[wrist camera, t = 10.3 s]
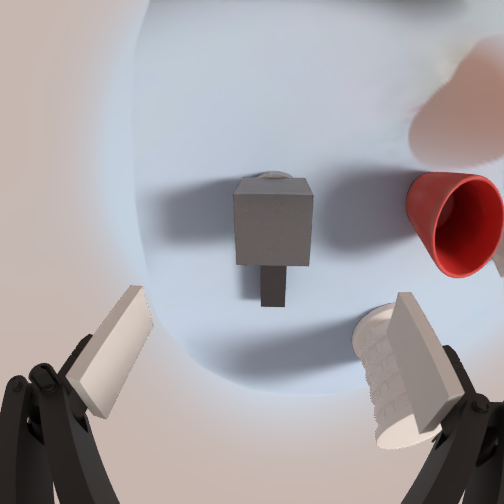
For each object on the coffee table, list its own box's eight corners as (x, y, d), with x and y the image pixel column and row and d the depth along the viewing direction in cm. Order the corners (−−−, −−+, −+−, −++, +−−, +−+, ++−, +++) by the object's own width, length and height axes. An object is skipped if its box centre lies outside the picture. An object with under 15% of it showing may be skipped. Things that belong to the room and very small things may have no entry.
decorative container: (350, 362, 42) (367, 457, 26) (352, 309, 38) (382, 417, 22) (412, 350, 41) (445, 435, 24) (424, 296, 36) (476, 388, 20)
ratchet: (242, 171, 31) (234, 182, 25) (305, 171, 30) (312, 183, 24) (247, 295, 38) (241, 326, 32) (299, 296, 37) (302, 327, 32)
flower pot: (469, 170, 27) (515, 191, 18) (448, 246, 32) (485, 282, 23) (405, 149, 27) (448, 163, 19) (385, 234, 32) (417, 274, 24)
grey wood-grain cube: (243, 177, 29) (233, 194, 22) (305, 178, 28) (313, 195, 22) (245, 234, 31) (236, 264, 25) (302, 235, 31) (309, 266, 25)
